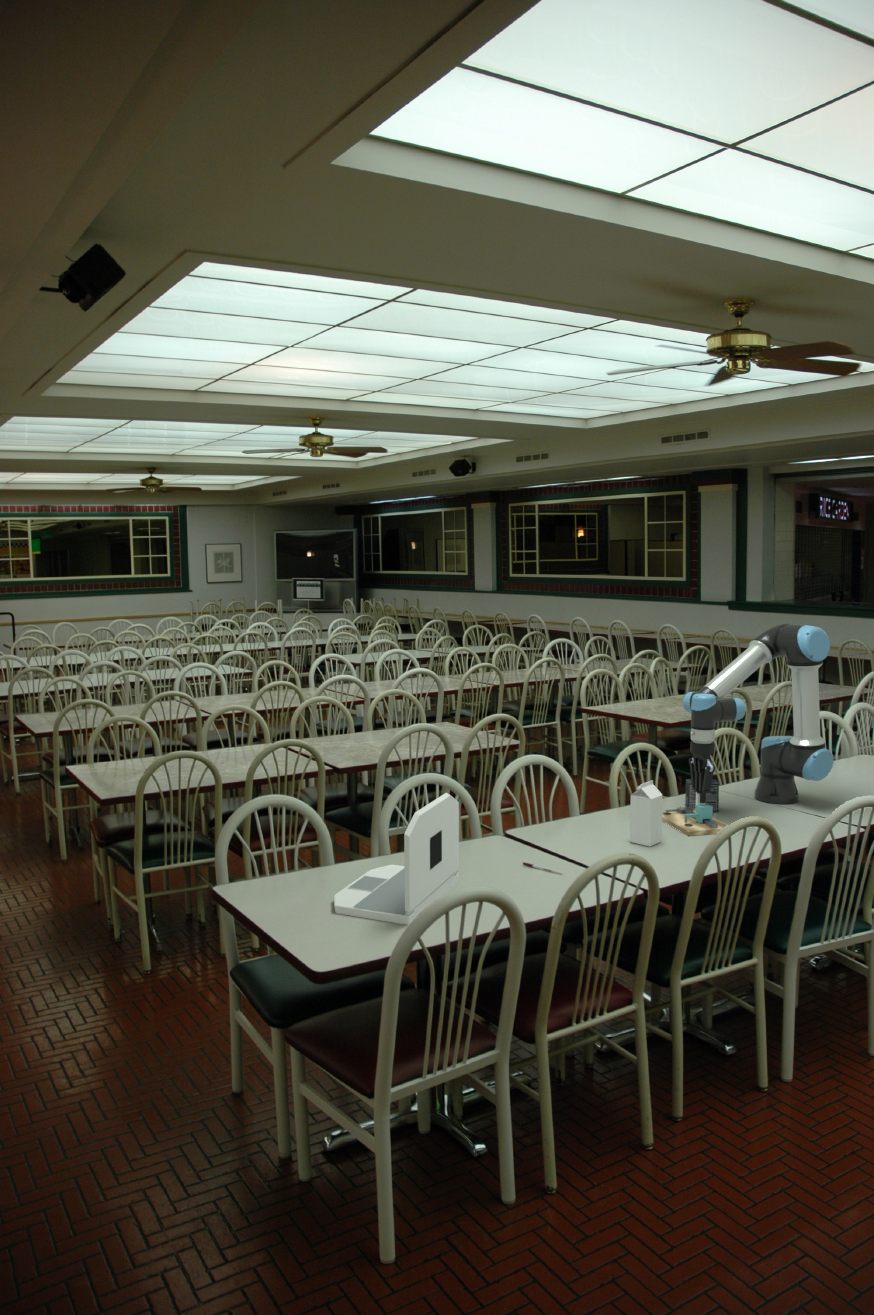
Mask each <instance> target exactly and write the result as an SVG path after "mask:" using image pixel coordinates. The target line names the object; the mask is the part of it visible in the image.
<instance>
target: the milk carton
mask: <svg viewBox="0 0 874 1315" xmlns="http://www.w3.org/2000/svg"><path fill="white" fill-rule="evenodd" d="M629 806H630V811H629V843H633V844H637V845H642V846H645V847H652V846H654V845H657V844H660V843H661V842H662V833H663V832H662V831H663V830H662V827H663V821H662V812H663V793H661V791H660V790H659V789H658V788H657V786H655V785H654V780H649V781H646V782H643V783H641V784H640V785H638V786H636V791H634V792H633V793H632V794H630V805H629Z"/></svg>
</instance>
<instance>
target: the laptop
mask: <svg viewBox="0 0 874 1315" xmlns="http://www.w3.org/2000/svg"><path fill="white" fill-rule="evenodd" d="M403 835H404V836H403V839H404V845H403V846H404V849H403V850H404V854H403V855H404V865H397V864H388V865H384V866H379V867H376V868H373V869H369V870H368V871H366V872H365V873H364V874H362V875H361V876H360V877H358V878H357V879H355V880H353V882H351V883H350V884H348V885H346V886H345V887H344V888H342V889H341V890H339V891H338V892H337V893H336V894H334V895H333V904H334V905H333V906H334V911H335V914H339V915H345V916H350V917H351V916H352V917H357V918H364V919H370V920H376V921H382V922H389V923H394V924H401V925H405V926H406V925H407V926H410V925H411V924H412V923H413V922H414V921H413V919H415V917H416V916H417V915H418V914H419V913H420V912H421V911H422V910H423V909H424V908H426V907H427V906H428V905H429V904H430V903H432V902H434V901H435V900H436V899H437V900H439V898H441V897H442V896H443V895H444V894H445V893H446V892H447V891H449V889H451V888H452V887H453V886H454V885H455V884H456V883H458V881H459V869H460V801H458V800H456V798H454V797H453V796H452V795H451V794H449V793H448V792H445V793H444V794H442V795H439V797H437V798H436V799H434V800H432V801H431V802H429V803H428V804H426V805H425V806H423V807H422V808H420V809H418V810H417V811H415V812H414V814H413V816H412V817H411V819H410V821H409V824H408V826H407V828H406V830H405V832H404V834H403ZM437 900H436V901H437ZM436 901H435V902H436ZM435 902H434V903H435ZM415 920H416V919H415ZM412 921H413V922H412ZM411 922H412V923H411ZM410 923H411V924H410ZM409 924H410V925H409Z"/></svg>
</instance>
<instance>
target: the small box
mask: <svg viewBox="0 0 874 1315" xmlns="http://www.w3.org/2000/svg"><path fill="white" fill-rule="evenodd" d="M719 787H720V783H719V781H717V780H716V779H712V784H711V790H710V792H708V793H706V802H705V805H706V804H708V805H710V806H712V807H713V813H714V812H718V813H719V812H720V810H719V809H720V808H719V806H720V805H719V803H720V802H719V800H720V798H719V795H720V793H719V792H720V791H719V790H720V788H719ZM684 802H685V806H684V807H690V808H692V809H693V810H695V808H696V792H695V789H694V788H692V783H691V778H688V779H685V801H684Z"/></svg>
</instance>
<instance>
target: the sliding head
mask: <svg viewBox="0 0 874 1315" xmlns="http://www.w3.org/2000/svg"><path fill="white" fill-rule="evenodd" d="M713 815H714V812H713V807H712V806H710V805H708V804H706V805H696V813H695V814H684V817H685V823H687V817H696V821H697V822H699V823H703V819H709V820H710V821H712V818H714V817H713Z"/></svg>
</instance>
